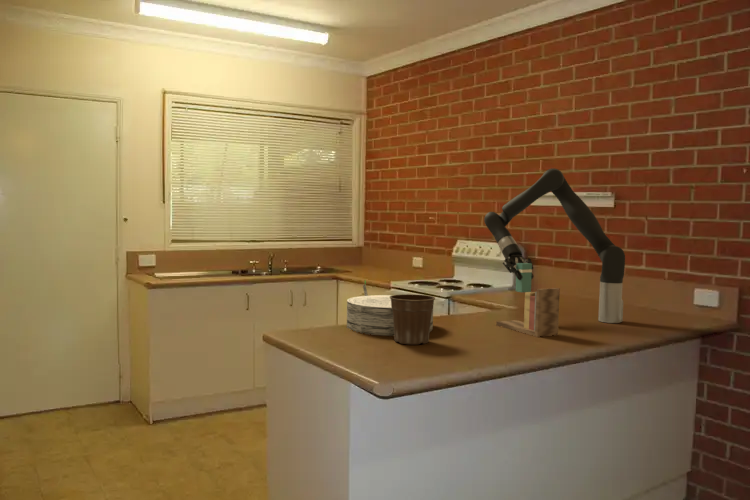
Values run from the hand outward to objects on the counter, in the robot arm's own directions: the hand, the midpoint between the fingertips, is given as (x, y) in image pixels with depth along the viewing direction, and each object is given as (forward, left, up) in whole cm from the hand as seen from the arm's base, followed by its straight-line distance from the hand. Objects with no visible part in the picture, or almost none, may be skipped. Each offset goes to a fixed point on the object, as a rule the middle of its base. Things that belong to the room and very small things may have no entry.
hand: (526, 278), depth 262 cm
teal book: (0, -2, -6) cm, 6 cm away
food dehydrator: (+59, -13, -19) cm, 63 cm away
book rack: (+10, +12, -19) cm, 25 cm away
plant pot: (+64, +16, -19) cm, 69 cm away
